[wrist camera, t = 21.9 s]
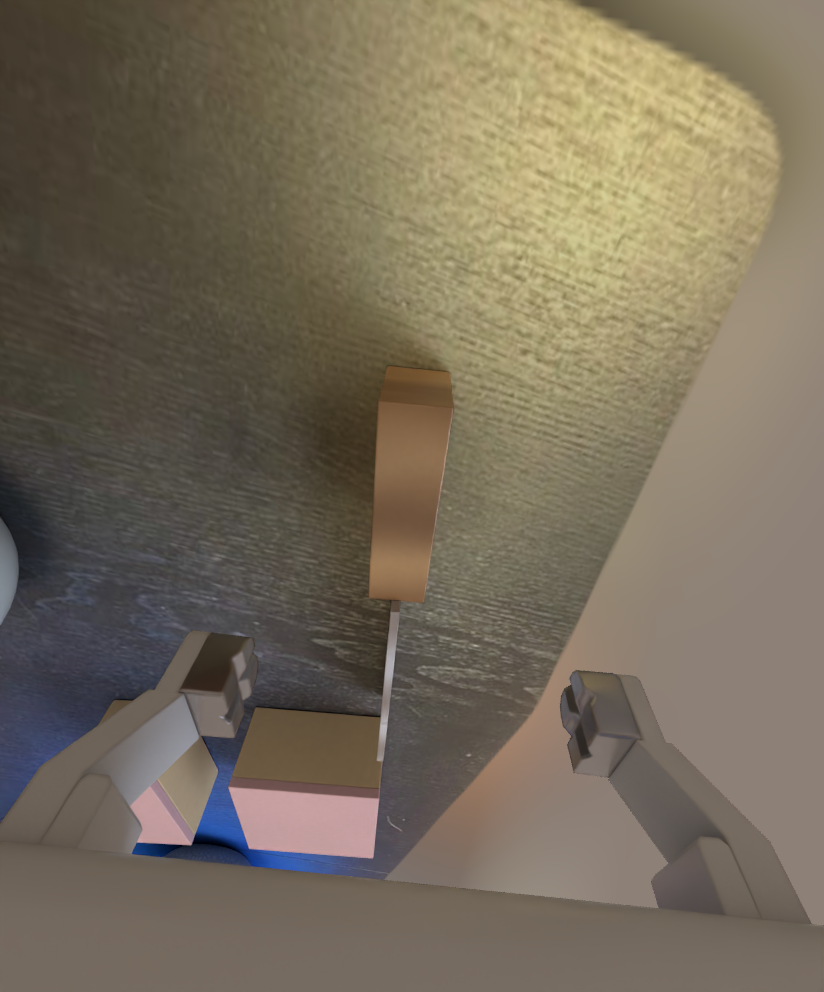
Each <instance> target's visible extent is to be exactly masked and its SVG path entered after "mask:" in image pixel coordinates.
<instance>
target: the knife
mask: <svg viewBox="0 0 824 992" xmlns="http://www.w3.org/2000/svg"><path fill="white" fill-rule="evenodd" d="M453 413H454V404H453V394H452V385H451V375H450V372H443V371H433V370H423V369H414V368H404V367H394V366H387V369H386V373H385V376H384V380H383V384H382V388H381V392H380V396H379V400H378V413H377V434H376V454H375V474H374V494H373V514H372V534H371V554H370V574H369V594H368V597H369V598H373V599H384V600H391V611H390V621H389V632H388V643H387V653H386V664H385V675H384V685H383V696H382V707H381V718H380V728H379V739H378V750H377V761H383V759H384V750H385V741H386V733H387V724H388V715H389V706H390V697H391V688H392V679H393V670H394V661H395V652H396V643H397V634H398V625H399V616H400V605H401V601H407V602H418V603H424V600H425V593H426V587H427V580H428V574H429V567H430V561H431V554H432V548H433V542H434V535H435V529H436V522H437V516H438V509H439V503H440V496H441V490H442V484H443V477H444V471H445V464H446V458H447V451H448V445H449V438H450V432H451V426H452V419H453Z"/></svg>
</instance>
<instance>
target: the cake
mask: <svg viewBox="0 0 824 992" xmlns="http://www.w3.org/2000/svg"><path fill="white" fill-rule="evenodd" d="M380 718H381V717H369V716H357V715H345V714H332V713H320V712H308V711H296V710H284V709H272V708H260V707H256V708H255V711H254V713H253V716H252V719H251V722H250V725H249V728H248V731H247V734H246V737H245V740H244V743H243V746H242V748H241V751H240V754H239V757H238V760H237V763H236V766H235V769H234V772H233V775H232V778H231V780H230V783H229V786H228V788H229V791H230V794H231V797H232V800H233V803H234V806H235V809H236V812H237V814H238V817H239V820H240V823H241V826H242V829H243V832H244V835H245V838H246V841H247V844H248V847H249V849H258V850H271V851H284V852H297V853H310V854H323V855H336V856H349V857H362V858H373V855H374V845H375V835H376V825H377V814H378V804H379V794H380V782H381V771H382V761H377V750H378V739H379V728H380Z"/></svg>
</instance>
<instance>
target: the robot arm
mask: <svg viewBox="0 0 824 992" xmlns="http://www.w3.org/2000/svg"><path fill="white" fill-rule="evenodd" d="M254 648H255V642H254V638H253V637H244V636H236V635H227V634H218V633H212V632H202V631H191V632H190V633H189V634H188V635H187V636H186V637H185V639H184V641H183V642H182V644H181V646H180V647H179V649H178V651H177V653H176V654H175V656H174V658H173V659H172V661H171V663H170V664H169V666H168V668H167V670H166V671H165V673H164V675H163V676H162V678H161V680H160V681H159V683H158V685H157V687H156V688H155V690H147V691H146V692H144V693H143V694H142V695H140V696H139V697H137V698H136V699H134V700H133V701H132V702H130V703H129V704H127V705H126V706H125V707H123V708H122V709H120V710H119V711H118V712H116V713H115V714H113V715H112V716H111V717H109V718H108V719H106V720H105V721H103V722H102V723H101V724H99V725H98V726H96V727H95V728H94V729H92V730H91V731H89V732H88V733H87V734H85V735H84V736H82V737H81V738H79V739H78V740H77V741H75V742H74V743H72V744H71V745H70V746H68V747H67V748H65V749H64V750H63V751H61V752H60V753H58V754H57V755H56V756H54V757H53V758H51V759H50V760H48V761H47V762H46V763H44V764H43V765H41V766H40V768H39V769H38V771H37V772H36V773H35V775H34V776H33V778H32V779H31V780H30V782H29V783H28V785H27V786H26V788H25V789H24V790H23V792H22V793H21V795H20V796H19V797H18V799H17V800H16V802H15V803H14V804H13V806H12V807H11V809H10V810H9V811H8V813H7V814H6V816H5V817H4V818H3V820H2V821H1V823H0V992H824V925H815V924H812V923H811V921H810V920H809V918H808V916H807V914H806V912H805V910H804V908H803V906H802V904H801V902H800V900H799V898H798V896H797V894H796V892H795V890H794V888H793V886H792V884H791V882H790V880H789V878H788V876H787V874H786V872H785V870H784V868H783V866H782V864H781V862H780V860H779V858H778V856H777V854H776V852H775V850H774V848H773V846H772V845H771V842H770V841H769V840H767V838H766V837H765V836H764V835H763V834H761V832H760V831H759V830H758V829H757V828H756V827H755V826H754V825H753V824H752V823H751V822H750V821H749V820H748V819H747V818H746V817H745V816H744V815H743V814H742V813H741V812H740V811H739V810H738V809H737V808H736V807H735V806H734V805H733V804H731V802H730V801H729V800H728V799H727V798H726V797H725V796H724V795H723V794H722V793H721V792H720V791H719V790H718V789H717V788H716V787H715V786H714V785H713V784H712V783H711V782H710V781H709V780H708V779H707V778H706V777H705V776H704V775H703V774H702V773H701V772H700V771H699V770H698V769H697V768H696V767H695V766H694V765H693V764H692V763H691V762H690V761H689V760H688V759H687V758H686V757H685V756H684V755H683V754H682V753H681V752H680V751H679V750H678V749H677V748H676V747H675V746H674V745H673V744H671V743H666V742H665V739H664V737H663V735H662V732H661V730H660V727H659V725H658V722H657V720H656V718H655V715H654V713H653V711H652V708H651V706H650V704H649V701H648V699H647V696H646V694H645V692H644V689H643V687H642V684H641V682H640V680H639V679H638V678H637V677H635V676H630V675H617V674H613V673H603V672H591V671H579V670H576V671H574V672H572V674H571V676H570V682H571V685H570V686H568V687H566V688H565V689H564V691H563V693H562V695H561V703H560V711H561V719H562V723H563V727H564V728H565V729H566V730H567V732H568V733H569V734H570V735H571V738H570V740H569V742H568V745H567V746H568V750H569V754H570V758H571V763H572V767H573V771H574V773H577V774H585V775H593V776H600V777H608V778H609V779H608V780H609V781H610V783H611V784H612V785H613V787H614V788H615V790H616V791H617V792H618V794H619V795H620V797H621V798H622V799H623V801H624V802H625V804H626V805H627V806H628V808H629V809H630V811H631V812H632V813H633V815H634V816H635V817H636V819H637V820H638V822H639V823H640V824H641V826H642V827H643V829H644V830H645V831H646V833H647V834H648V836H649V837H650V838H651V840H652V841H653V843H654V844H655V845H656V847H657V848H658V849H659V851H660V852H661V854H662V855H663V856H664V858H665V859H666V861H667V862H668V863H669V864H667V865H666V866H665V867H664V868H663V869H662V870H660V871H659V872H658V873H657V874H656V875H655V876H654V877H653V879H652V881H651V883H652V887H653V890H654V894H655V897H656V900H657V904H658V907H659V908H650V907H641V906H630V905H621V904H610V903H601V902H592V901H583V900H573V899H563V898H553V897H544V896H534V895H524V894H515V893H505V892H494V891H485V890H476V889H466V888H456V887H447V886H437V885H427V884H418V883H408V882H398V881H388V880H379V879H369V878H359V877H350V876H340V875H330V874H320V873H311V872H301V871H291V870H282V869H272V868H262V867H252V866H243V865H233V864H223V863H214V862H204V861H194V860H185V859H175V858H165V857H155V856H146V855H136V854H132V851H133V849H134V847H135V845H136V843H137V841H138V838H139V836H140V834H141V832H142V830H143V829H142V826H141V822H140V821H139V819H138V818H137V816H136V815H135V813H134V812H133V810H132V809H131V807H130V806H131V805H132V804H133V803H134V802H135V801H136V800H137V799H138V798H139V797H140V796H141V795H142V794H143V793H144V792H145V791H146V790H147V789H148V788H149V787H150V786H151V785H152V784H153V783H154V782H155V781H156V780H157V779H158V778H159V777H160V776H161V775H162V774H163V773H164V772H165V771H166V770H167V769H168V768H169V767H170V766H171V765H172V764H173V763H174V762H175V761H176V760H177V759H178V758H179V757H180V756H181V755H182V754H184V753H185V752H186V751H187V750H188V749H189V748H190V747H191V746H192V745H193V744H194V743H195V742H196V741H197V740H198V739H199V736H212V737H226V738H235V735H236V733H237V730H238V728H239V725H240V723H241V720H242V717H243V715H244V712H245V710H244V706H243V701H244V700H245V699H246V698H248V697H249V696H250V695H251V694H252V691H253V689H254V686H255V683H256V678H257V674H258V658H257V656H256V655H255V654H254V653H253V650H254Z"/></svg>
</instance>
